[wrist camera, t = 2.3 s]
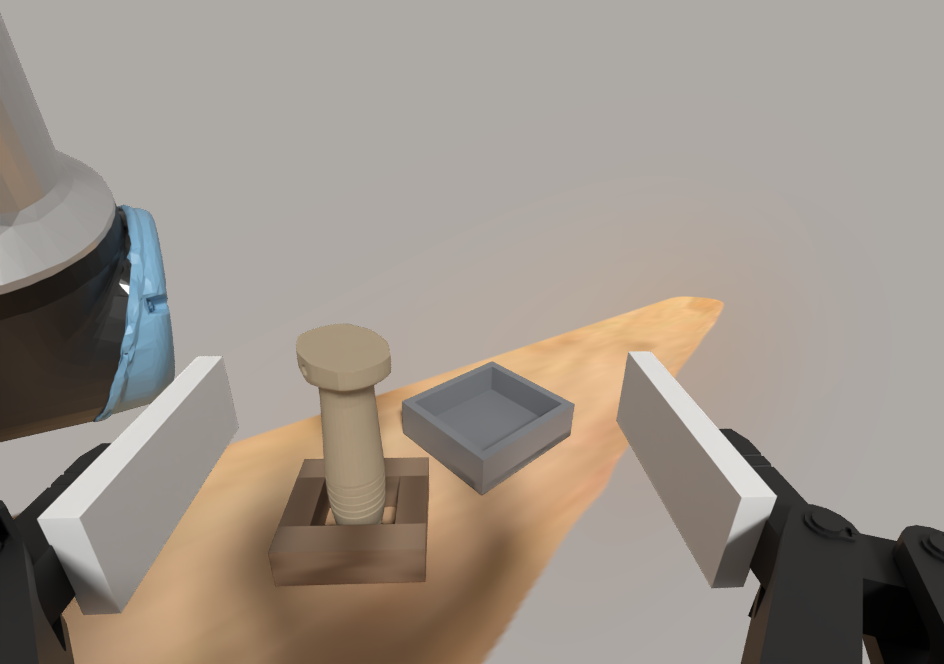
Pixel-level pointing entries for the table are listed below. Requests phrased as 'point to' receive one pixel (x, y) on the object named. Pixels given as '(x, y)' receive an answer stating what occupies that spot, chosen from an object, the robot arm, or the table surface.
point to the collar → (353, 532)
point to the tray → (487, 424)
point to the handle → (349, 416)
